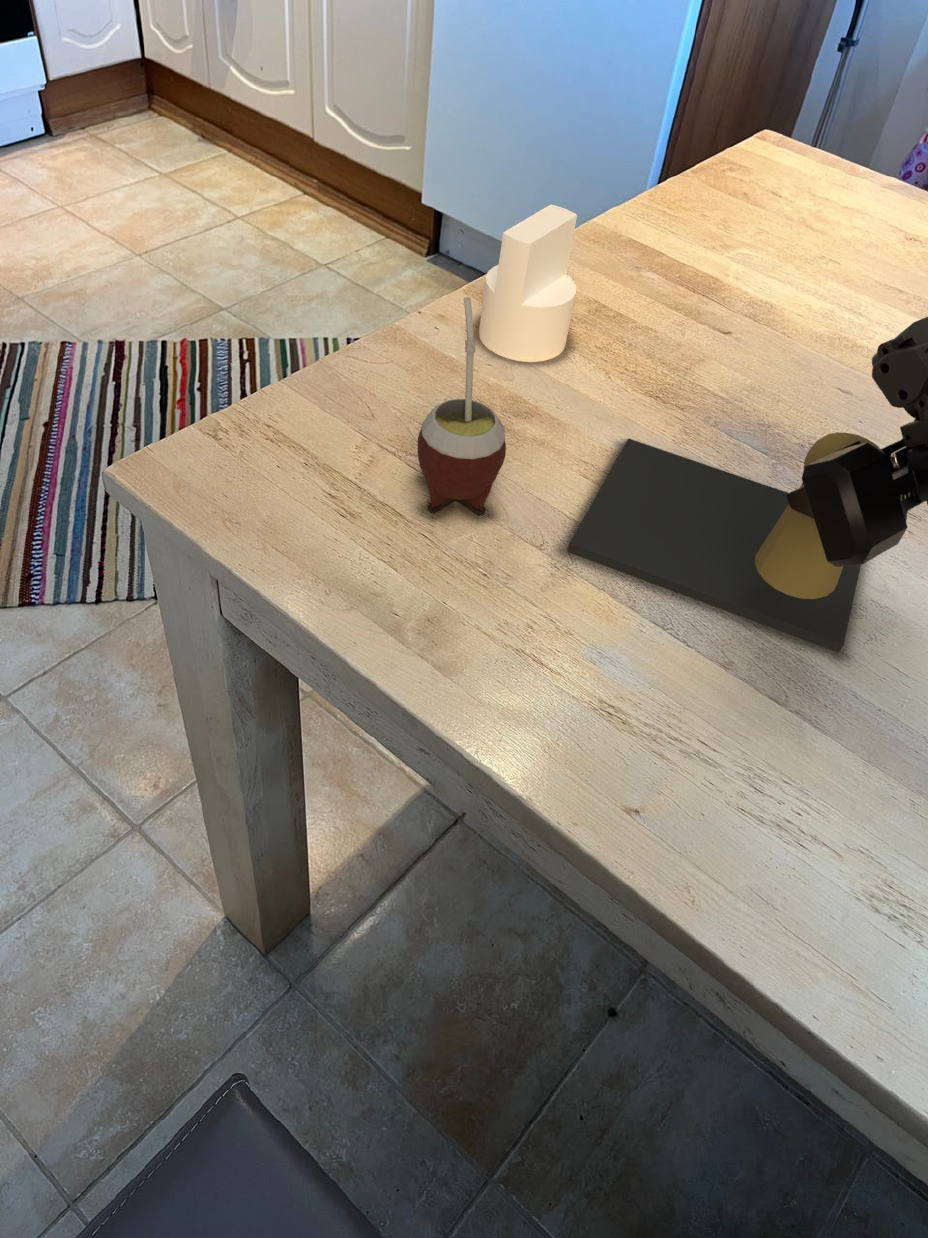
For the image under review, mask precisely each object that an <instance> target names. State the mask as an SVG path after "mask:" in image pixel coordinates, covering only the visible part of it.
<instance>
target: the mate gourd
mask: <svg viewBox="0 0 928 1238" xmlns="http://www.w3.org/2000/svg"><path fill="white" fill-rule="evenodd" d="M463 306H464V316H465V317H464V318H465V327H466V328H465V330H466V339H464V353H465V354H466V357H465V359H466V360H465V394H464V398H455V399H454V398H453V399H448V400H445V401H443V402H440V403H439V404H437V405H436V406H434V407H433V408H432V409H431V411H430V412H429V413H428V414H427V415H426V417H425V418H424V420H423V421H422V422H421V428H420V430H419V433H418V437H417V459H418V463H419V468H420V470H421V473H422V475H423V477H424V479H425V480H426V482H427V484H428V491H429V496H430V501H431V502H430V503H429V504H427V511H428V512H429V513H431V514H433V515H435V514H436V513H439V512H440V511H442V510H443V509H445V508H446V507H448V506H450V505H451V504H453V503H455V502H456V503H458V504H460V505H462V506H463V507H464V508H466V509H467V510H469V511H470V512H472V513H473V514H475V515H476V516H478V517H482V516H483V515H485V514H486V511H487V508H486V507H485V506H484V504H485V502H486V501H487V499H488V497H489V495H490V493H491V490H492V486H493V483H494V482H495V481H496V479H497V477H498V475H499V473H500V471H501V469H502V467H503V465H504V462H505V459H506V451H507V444H506V433H505V426H504V424H503V422H502V420H501V419H500V418H499V416H498V415H497V413H495V411H494V409H492V408H491V407H490V406H488V405H487V404H484V403H483V402H480V401H477V400H474V399H473V387H474V386H473V384H474V359H475V358H474V356H475V355H474V354H475V353H476V339H475V332H474V330H475V329H474V320H473V310H472V299H471V297H470V296H465V297H463Z"/></svg>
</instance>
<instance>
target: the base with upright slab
mask: <svg viewBox="0 0 928 1238" xmlns="http://www.w3.org/2000/svg"><path fill="white" fill-rule="evenodd" d="M577 219H578V214H577V213H575V212H573V211H571V210H569V209H567V208H565V207H561V206H558V205H555V204H549V205H548V206H545V207H544V208H542V209H540V210H538V211H536V212H535V213H534V214H532V215H530V216H528V217H527V218H525V219H523V220H522V221H520V222H518V223H517V224H515V225H513V226H511V227H510V228H508V229H506V230H505V231H503V232H502V238H501V246H500V253H499V260H498V264H497V265H495V266H493V267H491V269H489V270H488V271H487V273H486V275H485V281H484V289H483V296H482V304H481V312H480V320H479V327H478V335H479V336H478V337H479V339H480V341H481V343H482V345H483V346H485V348H487V349H488V350H489V351H491V352H493V353H494V354H496V355H498V356H500V357H502V358H505V359H508V360H512V361H516V362H517V361H518V362H524V363H525V362H527V363H535V362H537V363H538V362H544V361H549V360H553V359H554V358H556V357H557V356H559V355H560V354H561V353H562V352H563V351H564V350H565V347H566V345H567V344H566V343H567V340H568V333H569V329H570V324H571V319H572V314H573V310H574V305H575V299H576V295H577V285H576V282H575V281H574V280H573V278H572V277H571V276H569V275H568V274H567V271H568V266H569V261H570V256H571V250H572V244H573V240H574V235H575V228H576V224H577Z"/></svg>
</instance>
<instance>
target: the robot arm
mask: <svg viewBox="0 0 928 1238" xmlns="http://www.w3.org/2000/svg"><path fill="white" fill-rule="evenodd" d="M871 366H872V368H871V378H872V379H873V381H874V383H875V384H876V386H877V387H878V389H879V391H881V393H882V395H883V396H884V397H885V398H886V400H887V402H888V403H889V404H890V406H892V407H894V408H898V409H902V408H903V410H904V411H905V412H906V413H907V414H908V415H909V416H910V417H911V418H913V419H914V420H913V421H911V422H907V423H905V424H903V425H901V426H900V427H899V430H900V433H901V436H902V437H901V438H902V439H900V440H897V441H895V442H893V443H890V444H889V445H886V446H884V447H882V448H880V449H881V450H882V451H883V452H884V453H883V452H881V451H880V450H878V449H877V448H875V447H874V446H872V445H871V444H869V443H864V444H861V443H860V441H857V442H854V443H852V444H850V445H848V446H846V447H844V448H842V449H840V450H838V451H836V452H833V453H831V454H829V455H827V456H825V457H823V458H821V459H819V460H816V461H814V462H812V463H810V464H808V465H806V466H805V467H804V466H803V472H802V475H801V481H802V483H803V485H804V486H803V487H801V488H800V487H798V488H796V489H794V490H792V491H790V492H787V493H788V494H787V499H788V502H789V505H790V508H791V509H792V510H795V511H797V512H799V513H802V514H804V515H806V516H809V517H811V518H813V519H814V520H815V524H816V527H817V530H818V533H819V537H820V540H821V543H822V546H823V549H824V553H825V556H826V559H827V562H829V563H831V564H832V565H834V566H835V567H840V566H850V565H860V564H861V565H864V564H866V563H868V562H870V561H871V560H873V559H875V558H877V557H878V556H880V555H882V554H883V553H885V552H887V551H888V550H890V549H893V547H896V546H897V545H899V544H900V541H901V540H902V538H903V536H904V534H905V532H906V531H907V529H908V528H909V527H908V524H907V521H908V520H907V519H908V513H909V511H910V510H913V509H914V508H916V507H918V506H920V505H921V504H923V503H925V502H926V504H927V505H928V316H925V317H923V318H920V319H918V320H916V321H914V322H912V323H911V324H910V325H909V326H907V327H906V328H904V330H903V331H901V332H900V333H899V334H897V336H895V337H894V338H892V339H890V340H887V341H885V342H882V343H880V344H879V345H878V347H877V350H876V353H875V354H874V355H873V356H872V359H871Z"/></svg>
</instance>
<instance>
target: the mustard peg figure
mask: <svg viewBox="0 0 928 1238" xmlns="http://www.w3.org/2000/svg"><path fill="white" fill-rule="evenodd" d="M857 441H860V443H861V444H864V443H869V444H871V445H872V446H874V447H875V448H877V449H878V450H880V451H881V452H883V451H882V450H881V449H882V448H880V446H878V445H877V444H876V443H875V442H873V441H871V440H870V439H868V438H867V437H865V436H861V435H860V434H855V433H851V432H832V433H828V434H826V435H824V436H822V437H821V438H819V439H818V440H816V441H815V442H814V444H813V445H812V446H811V447H810V448H809V450H808V452H807V454H806V456H805V458H804V463H803V468H804V467H805V466H806V465H808V464H810V463H812V462H814V461H816V460H819V459H821V458H823V457H825V456H827V455H829V454H831V453H833V452H836V451H838V450H840V449H842V448H844V447H846V446H848V445H850V444H852V443H854V442H857ZM883 453H884V452H883ZM803 486H804V485H803V482H802V483H801V485H800V486H799V488H801V487H803ZM755 565H756V568H757V570H758V573H759V574H760V575H761V576H762V578H763V579H764V580H765V581H766V582H767V583H768V584H770V585H771V586H772V587H774V588H775V589H776V590H778V591H780V592H783V593H785V594H787V595H789V596H793V597H797V598H801V599H817V598H821V597H825V596H827V595H828V594H830V593H831V592H833V591H834V589H835V587H836V585H837V583H838V580H839V577H840V574H841V572H842V569H843V566H840V567H835V566H834V565H832V564H831V563H829V562H827V559H826V556H825V553H824V549H823V546H822V543H821V540H820V537H819V533H818V530H817V527H816V524H815V520H814V519H813V518H811V517H809V516H806V515H804V514H802V513H799V512H797V511H795V510H792V509H791V508H790V505H788V506H787V508H786V509H785V511H784V512H783V514H782V515H781V517H780V518H779V520H778V522H777V523H776V525H775V526H774V528H773V529H772V531H771V532H770V534H769V535H768V537H767V538H766V540H765V541H764V543H763V545H762V546H761V548H760V549H759V551H758V552H757V554H756V557H755Z"/></svg>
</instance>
